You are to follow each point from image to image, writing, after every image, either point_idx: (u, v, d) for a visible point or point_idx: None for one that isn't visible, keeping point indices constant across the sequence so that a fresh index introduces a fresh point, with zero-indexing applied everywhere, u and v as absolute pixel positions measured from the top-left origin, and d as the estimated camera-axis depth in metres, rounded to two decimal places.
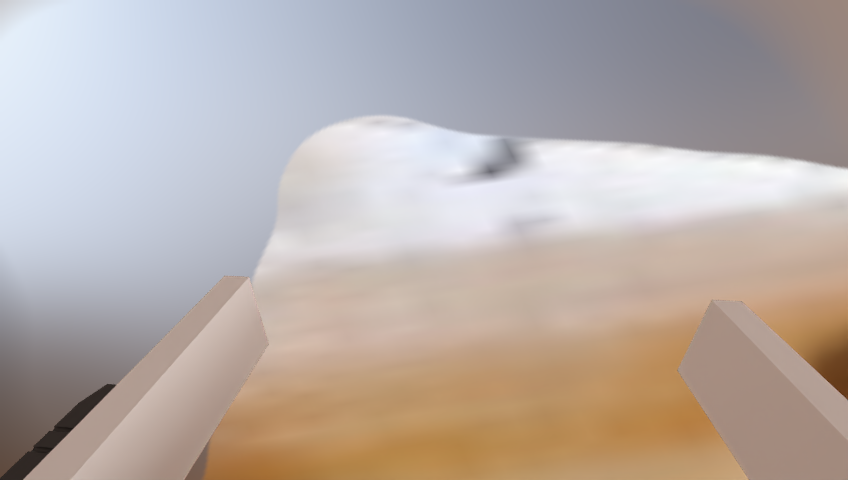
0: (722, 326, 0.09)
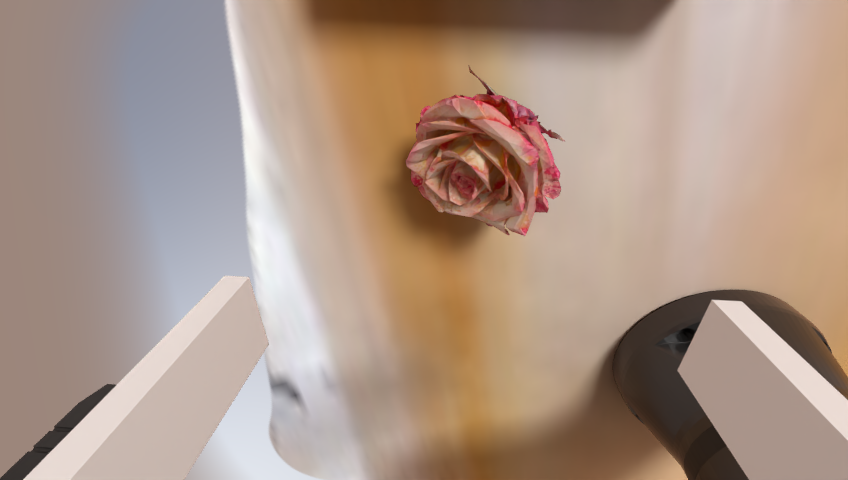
0: (722, 326, 0.09)
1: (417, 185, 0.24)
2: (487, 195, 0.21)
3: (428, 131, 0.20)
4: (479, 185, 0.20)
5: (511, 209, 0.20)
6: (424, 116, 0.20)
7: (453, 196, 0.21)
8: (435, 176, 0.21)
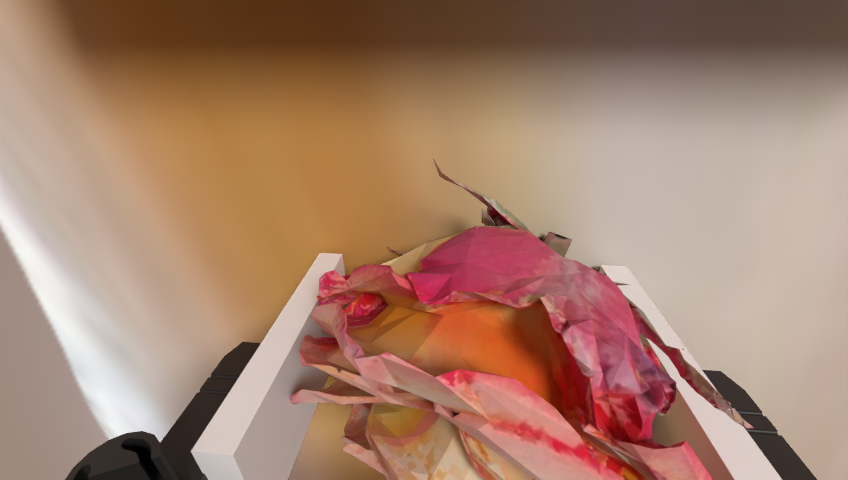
0: None
1: None
2: None
3: None
4: None
5: None
6: (314, 318, 0.07)
7: None
8: None
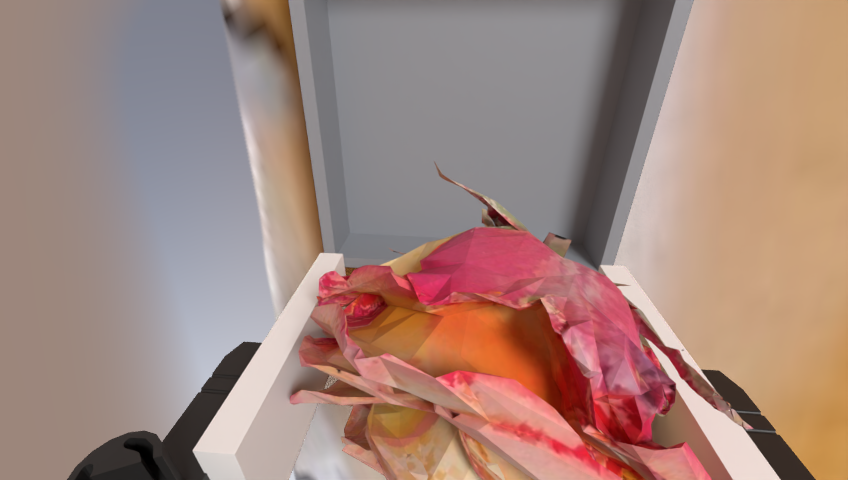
0: None
1: None
2: None
3: None
4: None
5: None
6: (314, 319, 0.07)
7: None
8: None
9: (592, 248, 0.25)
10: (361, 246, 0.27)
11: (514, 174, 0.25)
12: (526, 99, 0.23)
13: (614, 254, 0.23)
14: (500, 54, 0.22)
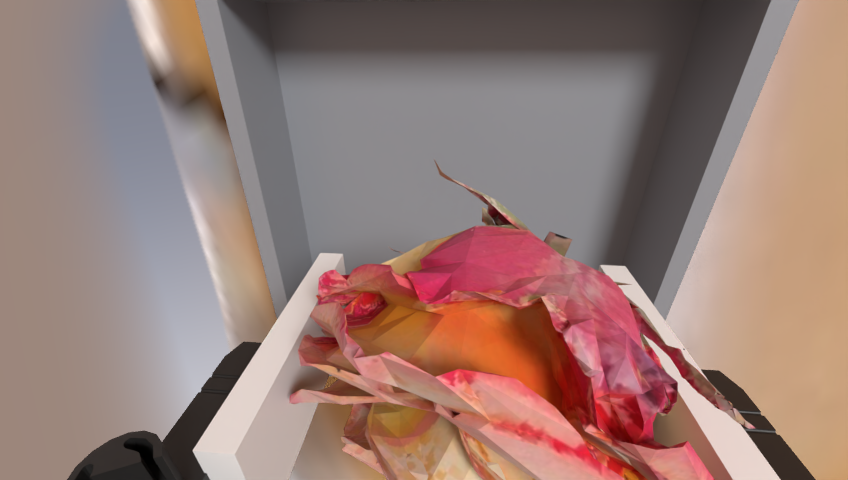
0: None
1: None
2: None
3: None
4: None
5: None
6: (313, 318, 0.07)
7: None
8: None
9: None
10: None
11: None
12: (531, 181, 0.18)
13: None
14: (498, 130, 0.17)
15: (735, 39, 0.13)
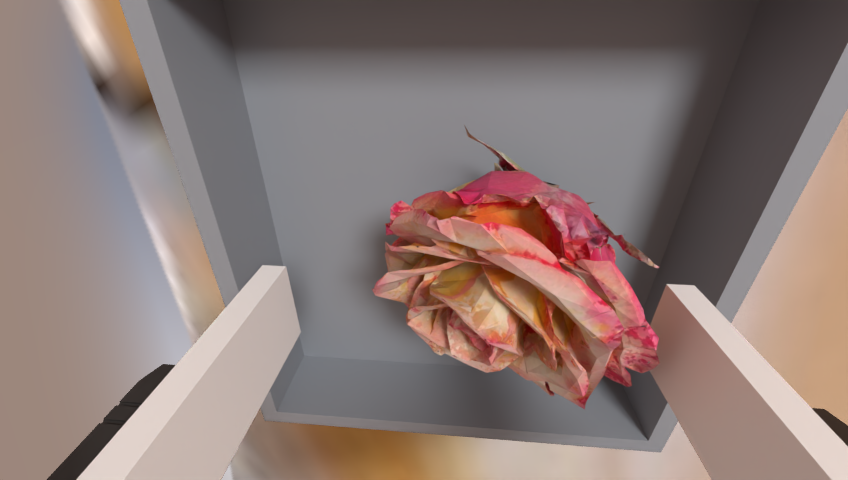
0: (674, 308, 0.10)
1: None
2: None
3: (403, 252, 0.11)
4: None
5: (561, 380, 0.11)
6: (393, 226, 0.11)
7: (456, 345, 0.12)
8: (423, 311, 0.13)
9: (635, 396, 0.18)
10: (315, 386, 0.20)
11: None
12: None
13: (673, 424, 0.16)
14: (505, 143, 0.14)
15: (817, 32, 0.10)
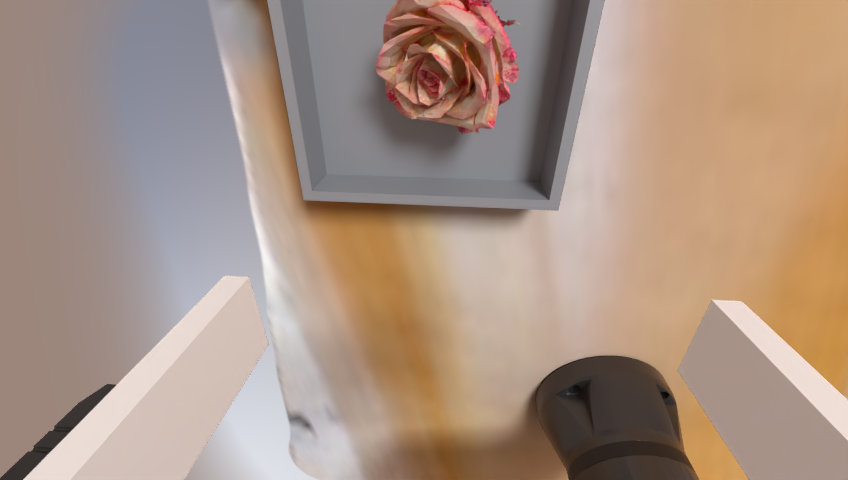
0: (722, 326, 0.09)
1: (392, 100, 0.25)
2: (454, 94, 0.22)
3: (392, 32, 0.21)
4: (444, 80, 0.21)
5: (476, 100, 0.21)
6: (387, 17, 0.21)
7: (422, 97, 0.22)
8: (404, 80, 0.22)
9: (545, 181, 0.28)
10: (336, 183, 0.29)
11: None
12: None
13: (562, 183, 0.26)
14: None
15: None
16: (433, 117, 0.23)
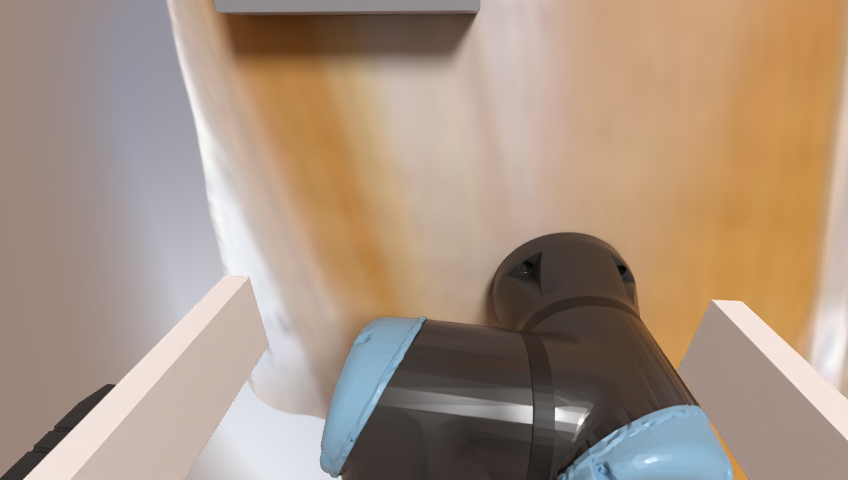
0: (722, 326, 0.09)
1: None
2: None
3: None
4: None
5: None
6: None
7: None
8: None
9: None
10: None
11: None
12: None
13: None
14: None
15: None
16: None
